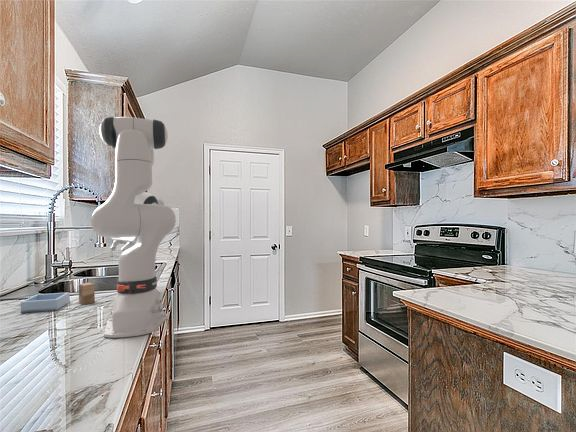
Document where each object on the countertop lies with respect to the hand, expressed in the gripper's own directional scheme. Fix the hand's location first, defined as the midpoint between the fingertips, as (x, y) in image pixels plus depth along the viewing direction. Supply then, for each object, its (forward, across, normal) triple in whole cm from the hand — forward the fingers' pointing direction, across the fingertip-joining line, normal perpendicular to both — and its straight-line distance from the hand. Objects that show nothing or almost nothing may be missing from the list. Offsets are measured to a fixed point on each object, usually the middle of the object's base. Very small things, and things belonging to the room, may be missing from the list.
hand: (116, 250), depth 143 cm
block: (+23, 0, +5) cm, 23 cm away
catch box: (+31, -6, -3) cm, 32 cm away
